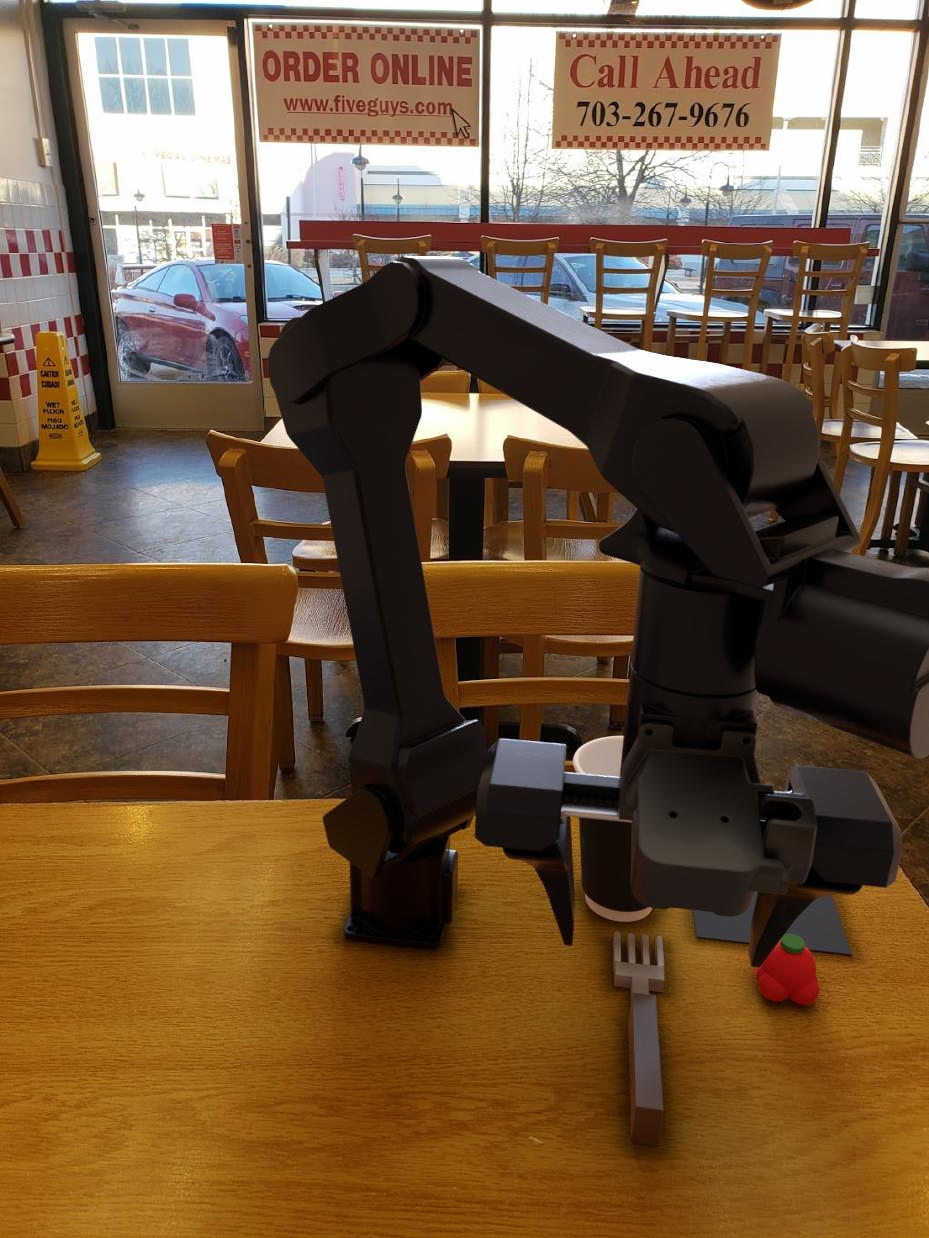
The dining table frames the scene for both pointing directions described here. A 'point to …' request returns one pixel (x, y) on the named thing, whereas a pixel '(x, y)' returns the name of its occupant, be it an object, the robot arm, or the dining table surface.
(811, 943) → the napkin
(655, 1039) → the fork
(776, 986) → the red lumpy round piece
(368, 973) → the dining table surface
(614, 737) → the dixie cup
